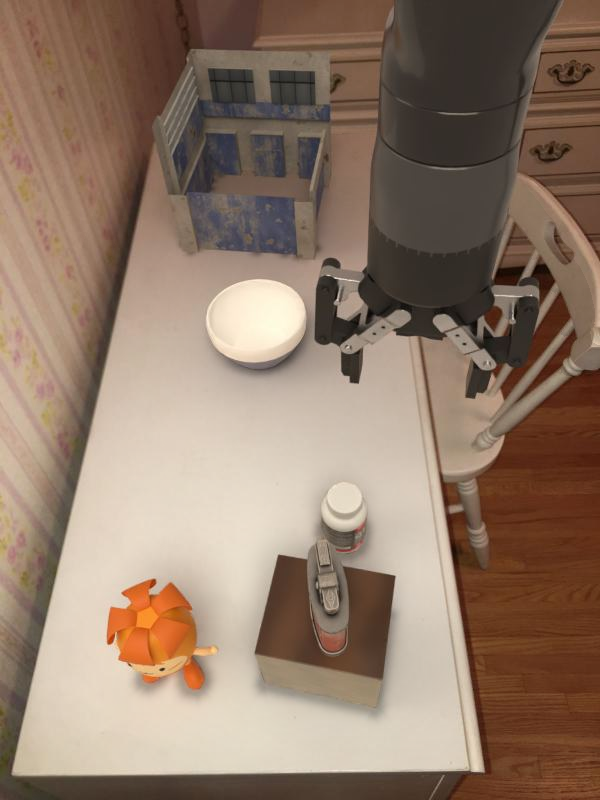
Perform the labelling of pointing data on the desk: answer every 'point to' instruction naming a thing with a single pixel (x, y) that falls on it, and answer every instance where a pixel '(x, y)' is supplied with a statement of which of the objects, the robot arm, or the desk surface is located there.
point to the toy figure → (157, 634)
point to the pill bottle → (344, 517)
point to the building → (246, 147)
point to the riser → (297, 644)
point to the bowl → (256, 322)
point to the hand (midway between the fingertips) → (412, 381)
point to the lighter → (328, 598)
